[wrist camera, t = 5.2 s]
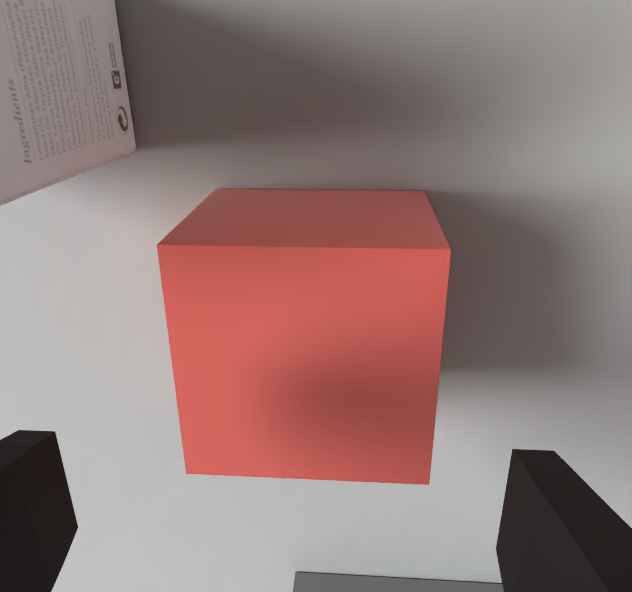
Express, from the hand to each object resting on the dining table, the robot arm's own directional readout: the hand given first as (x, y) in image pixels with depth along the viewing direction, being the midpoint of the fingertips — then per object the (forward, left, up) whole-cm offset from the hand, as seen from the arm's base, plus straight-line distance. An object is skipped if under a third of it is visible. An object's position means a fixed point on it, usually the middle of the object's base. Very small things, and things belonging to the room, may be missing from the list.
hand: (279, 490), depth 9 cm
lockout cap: (0, 0, -9) cm, 9 cm away
